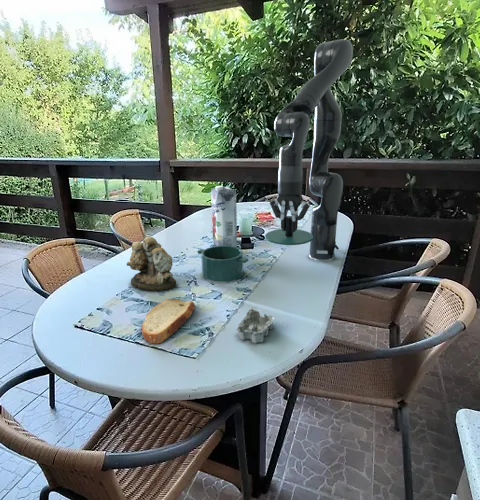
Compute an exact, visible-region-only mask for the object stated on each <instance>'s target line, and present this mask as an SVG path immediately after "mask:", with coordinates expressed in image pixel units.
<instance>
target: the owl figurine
mask: <svg viewBox="0 0 480 500" xmlns="http://www.w3.org/2000/svg"><path fill="white" fill-rule="evenodd" d="M131 250H132V251H131V253H130V258H129V261H127V262H126V266H127V267H129V268H130V269H131V270H134V271H139V272H137V273H135V274H134V275H133V276H132V278H131V279H130V285H131V286H132V287H133V288H135V289H138V290H140V291H143V292H151V293H152V292H157V293H158V292H165V291H167V290H168V291H169V290H172V289H174V288H175V287H176V286H177V280H176V279H175V278H174V277H173V276H174V274H173V272H172V271H171V270H172V267H173V257H172V256H171V255H170V254H169V253H168V252H167V251H166V250H165V249H164V248H163V247H162V244H161V243H159V242H158V241H157V239H156V238H154V237H153V236H149V235H148V236H146V237H144V238H143V240H142V242H141V241H135V242H133V243H132V244H131Z"/></svg>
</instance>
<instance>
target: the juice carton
mask: <svg viewBox="0 0 480 500" xmlns="http://www.w3.org/2000/svg"><path fill="white" fill-rule="evenodd" d="M210 194H211V195H210V197H211V198H210V200H211V203H210V204H211V226H212V241H213V245H214V246H232V247H237V243H238V227H237V225H238V222H237V220H238V219H237V216H238V215H237V190H236V189H232V188H230V186H222V185H217V186H215V187H213V188H211V191H210Z"/></svg>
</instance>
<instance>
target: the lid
mask: <svg viewBox="0 0 480 500" xmlns="http://www.w3.org/2000/svg"><path fill="white" fill-rule="evenodd" d="M291 225H292V215H287V216H286V217H285V231H282V229H281V228H279V229H274V230H271V231H268V232H267V233H266V234H265V235H264V237H265V240H266V241H267V242H268V243H271V244H275V245H281V246H299V245H305V244H308V243H310V241H312V239H313V235H312V234H311V232H309V231H307V230H303V229H299V228H297V230H296V231H295V232H291Z"/></svg>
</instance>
